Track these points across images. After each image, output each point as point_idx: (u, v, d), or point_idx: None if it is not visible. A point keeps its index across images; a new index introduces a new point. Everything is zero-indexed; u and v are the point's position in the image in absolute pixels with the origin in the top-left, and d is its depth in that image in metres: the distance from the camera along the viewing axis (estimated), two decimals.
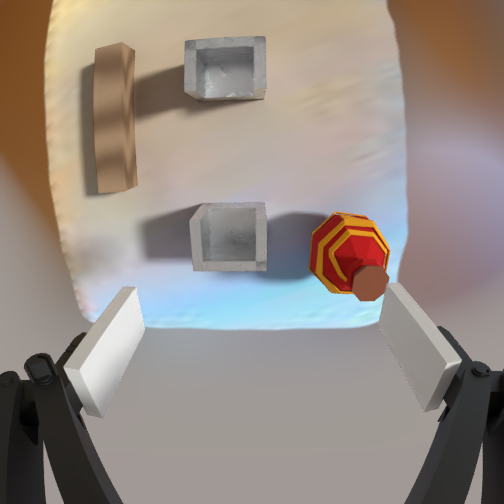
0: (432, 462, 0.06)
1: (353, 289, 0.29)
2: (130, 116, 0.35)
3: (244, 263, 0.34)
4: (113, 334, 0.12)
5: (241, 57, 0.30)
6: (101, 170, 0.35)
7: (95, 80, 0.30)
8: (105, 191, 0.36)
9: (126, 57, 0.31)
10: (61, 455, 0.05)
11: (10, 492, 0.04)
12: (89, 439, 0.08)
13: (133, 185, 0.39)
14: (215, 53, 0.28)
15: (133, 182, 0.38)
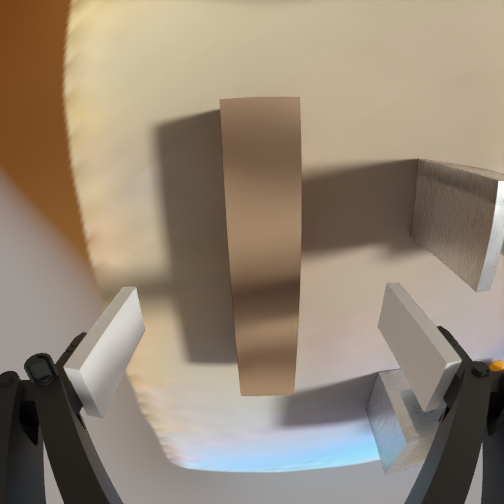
0: (432, 462, 0.06)
1: None
2: None
3: None
4: (113, 334, 0.12)
5: None
6: (249, 368, 0.20)
7: (229, 188, 0.16)
8: (255, 394, 0.21)
9: None
10: (61, 455, 0.05)
11: (10, 492, 0.04)
12: (89, 439, 0.08)
13: None
14: None
15: None
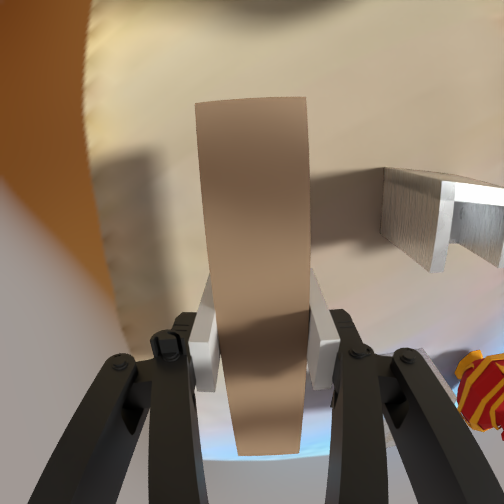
0: (336, 454, 0.07)
1: None
2: None
3: None
4: None
5: None
6: (247, 431, 0.16)
7: (211, 227, 0.12)
8: (255, 454, 0.17)
9: None
10: (164, 436, 0.07)
11: (83, 482, 0.05)
12: (197, 423, 0.09)
13: None
14: None
15: None
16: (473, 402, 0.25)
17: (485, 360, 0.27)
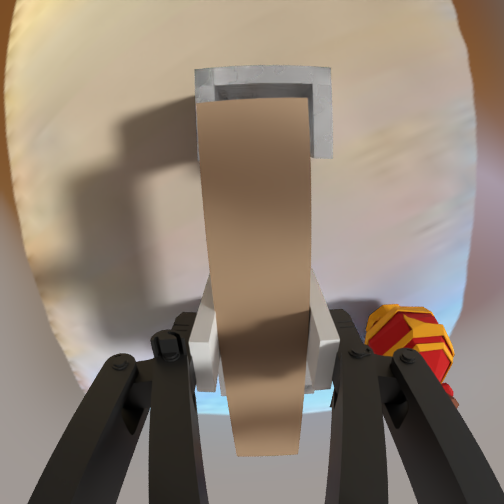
0: (336, 454, 0.07)
1: None
2: None
3: None
4: None
5: (282, 93, 0.21)
6: (246, 432, 0.16)
7: (212, 227, 0.11)
8: (253, 455, 0.17)
9: None
10: (164, 436, 0.07)
11: (83, 482, 0.05)
12: (197, 423, 0.09)
13: None
14: (245, 88, 0.18)
15: None
16: None
17: (391, 311, 0.28)
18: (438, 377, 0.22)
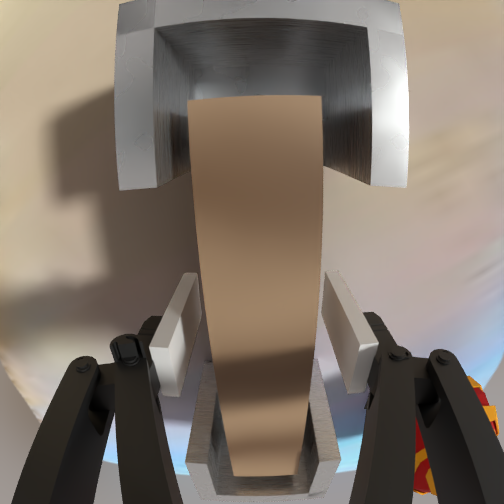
0: (367, 454, 0.07)
1: None
2: None
3: (289, 496, 0.15)
4: (186, 315, 0.13)
5: (296, 58, 0.11)
6: (243, 455, 0.14)
7: (206, 248, 0.10)
8: (251, 475, 0.15)
9: None
10: (131, 439, 0.07)
11: (59, 483, 0.05)
12: (162, 425, 0.09)
13: None
14: (226, 41, 0.08)
15: None
16: None
17: None
18: None
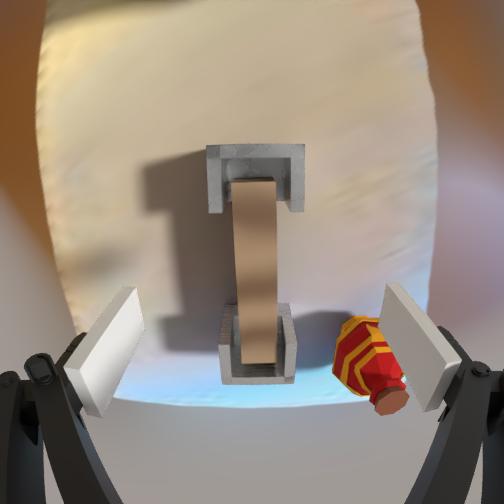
0: (432, 462, 0.06)
1: (376, 409, 0.27)
2: None
3: (273, 378, 0.33)
4: (113, 333, 0.12)
5: None
6: (247, 342, 0.32)
7: (236, 233, 0.28)
8: (251, 362, 0.33)
9: None
10: (61, 455, 0.05)
11: (10, 492, 0.04)
12: (89, 439, 0.08)
13: None
14: None
15: None
16: (340, 360, 0.34)
17: (357, 321, 0.36)
18: (394, 374, 0.30)
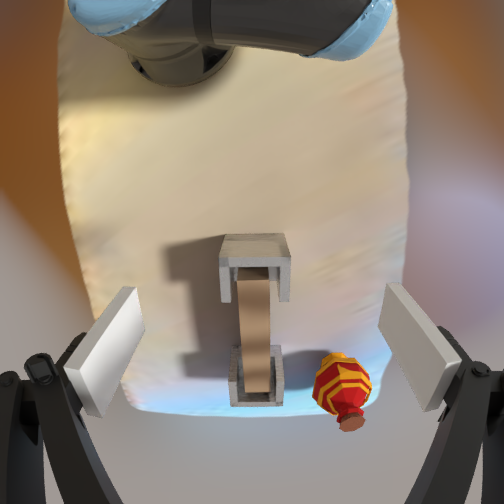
0: (432, 462, 0.06)
1: (340, 427, 0.39)
2: None
3: (267, 402, 0.44)
4: (113, 334, 0.12)
5: None
6: (249, 379, 0.44)
7: (241, 313, 0.39)
8: (252, 391, 0.45)
9: None
10: (61, 455, 0.05)
11: (10, 492, 0.04)
12: (89, 439, 0.08)
13: None
14: None
15: None
16: (317, 389, 0.45)
17: (331, 360, 0.47)
18: (356, 402, 0.42)
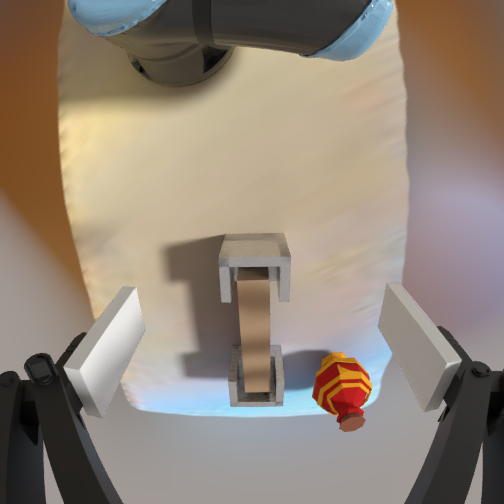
0: (432, 462, 0.06)
1: (340, 427, 0.39)
2: None
3: (267, 402, 0.44)
4: (113, 333, 0.12)
5: None
6: (249, 379, 0.44)
7: (241, 313, 0.39)
8: (252, 391, 0.45)
9: None
10: (61, 455, 0.05)
11: (10, 492, 0.04)
12: (89, 439, 0.08)
13: None
14: None
15: None
16: (317, 390, 0.45)
17: (331, 360, 0.47)
18: (357, 402, 0.42)
